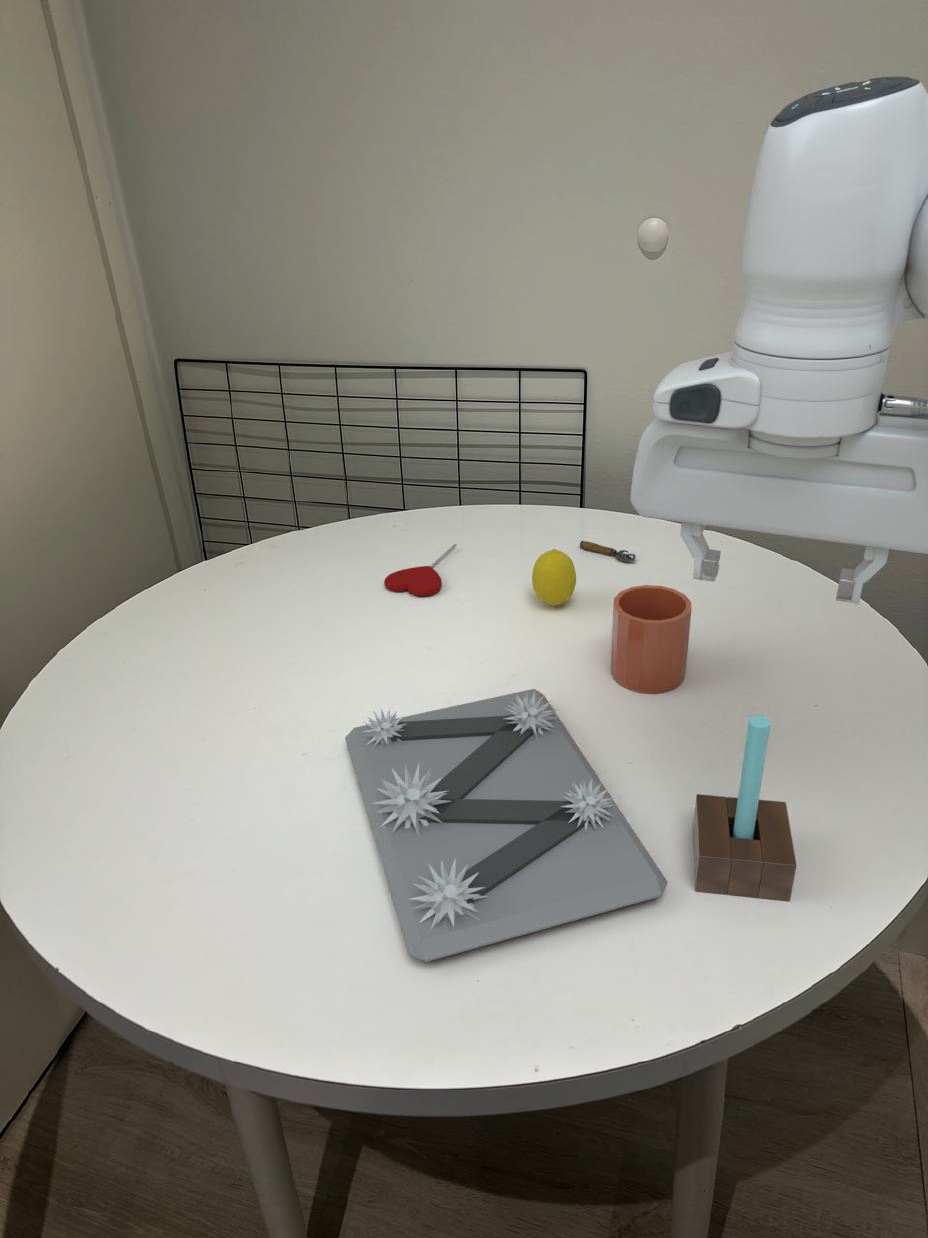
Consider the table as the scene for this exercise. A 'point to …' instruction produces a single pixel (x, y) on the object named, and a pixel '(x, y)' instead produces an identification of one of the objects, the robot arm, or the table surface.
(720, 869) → the holder
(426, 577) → the lollipop
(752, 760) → the straw
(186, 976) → the table surface
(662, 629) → the cup
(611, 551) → the can opener
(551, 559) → the lemon
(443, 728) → the decorative plate
